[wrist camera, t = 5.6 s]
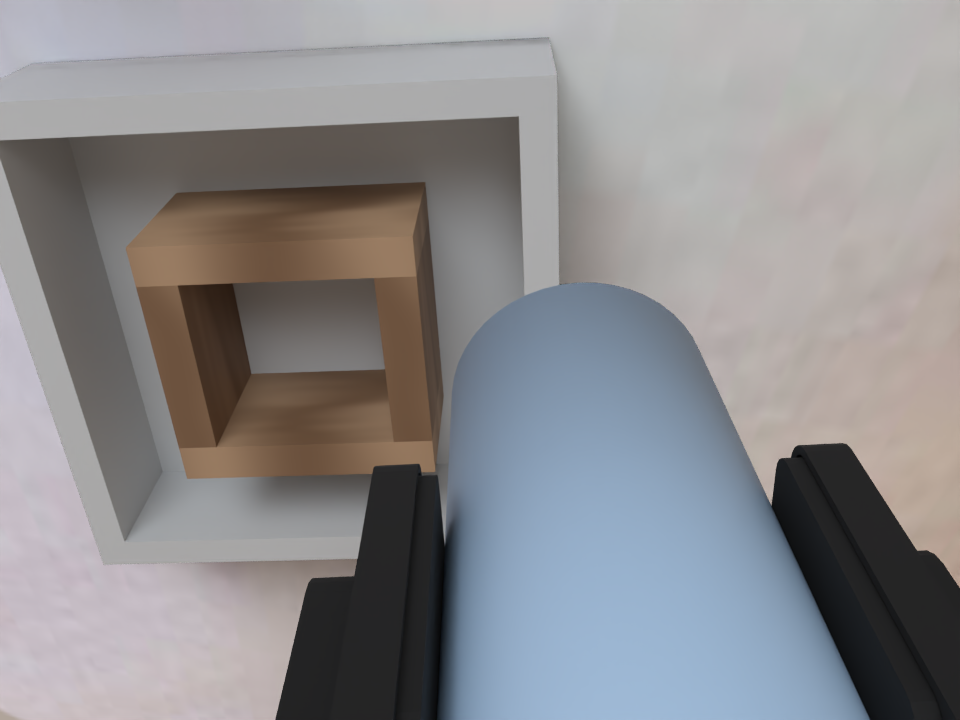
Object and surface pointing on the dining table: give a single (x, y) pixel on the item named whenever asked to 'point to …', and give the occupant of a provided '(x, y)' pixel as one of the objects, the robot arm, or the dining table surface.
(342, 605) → the robot arm
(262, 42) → the dining table surface
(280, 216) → the socket
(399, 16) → the dining table surface
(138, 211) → the box
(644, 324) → the peg
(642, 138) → the dining table surface
